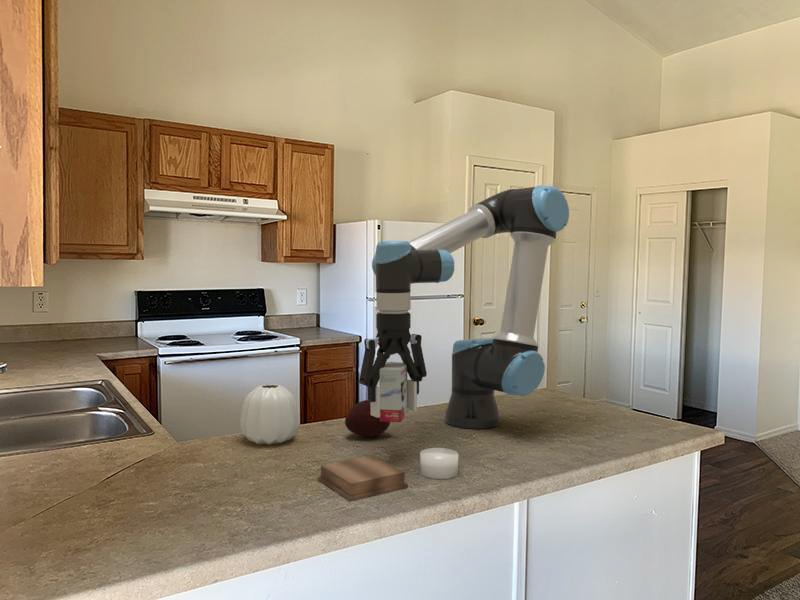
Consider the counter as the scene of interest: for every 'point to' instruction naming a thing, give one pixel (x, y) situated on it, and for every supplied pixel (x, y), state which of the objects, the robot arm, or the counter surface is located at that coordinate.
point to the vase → (269, 415)
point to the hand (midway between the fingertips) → (394, 412)
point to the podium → (362, 477)
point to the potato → (364, 421)
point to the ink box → (393, 392)
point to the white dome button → (439, 463)
